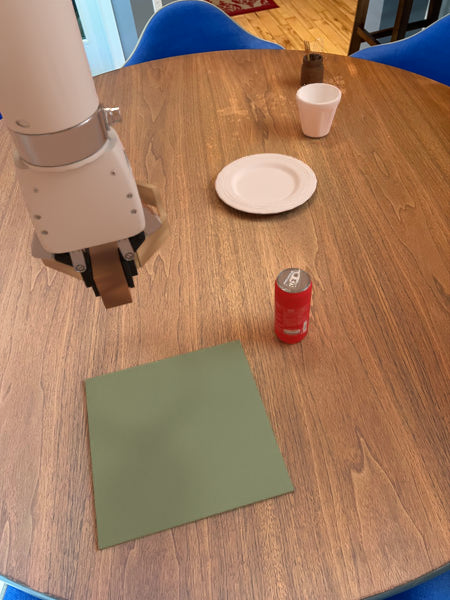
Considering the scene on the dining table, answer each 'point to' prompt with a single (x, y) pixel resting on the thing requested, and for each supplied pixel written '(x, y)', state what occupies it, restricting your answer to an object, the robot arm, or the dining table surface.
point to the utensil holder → (312, 66)
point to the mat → (179, 443)
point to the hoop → (108, 259)
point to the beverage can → (292, 305)
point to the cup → (317, 108)
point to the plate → (265, 183)
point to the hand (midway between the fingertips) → (113, 282)
